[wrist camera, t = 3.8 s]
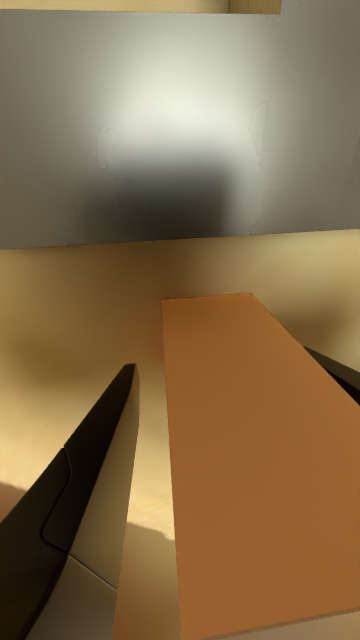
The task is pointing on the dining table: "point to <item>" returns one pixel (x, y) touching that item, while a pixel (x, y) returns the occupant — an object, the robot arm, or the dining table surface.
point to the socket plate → (179, 123)
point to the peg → (257, 472)
